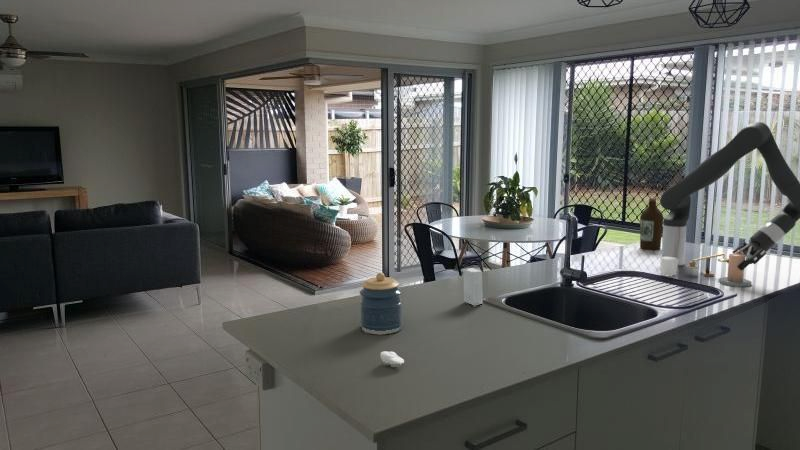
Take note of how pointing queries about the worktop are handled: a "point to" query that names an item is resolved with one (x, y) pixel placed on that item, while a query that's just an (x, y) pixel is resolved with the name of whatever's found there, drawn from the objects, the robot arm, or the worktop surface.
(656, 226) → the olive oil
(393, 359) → the dumpling
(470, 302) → the skincare box
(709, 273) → the balance
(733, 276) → the wooden block
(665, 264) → the shot glass
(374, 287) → the canister
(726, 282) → the dish
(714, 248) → the worktop surface
